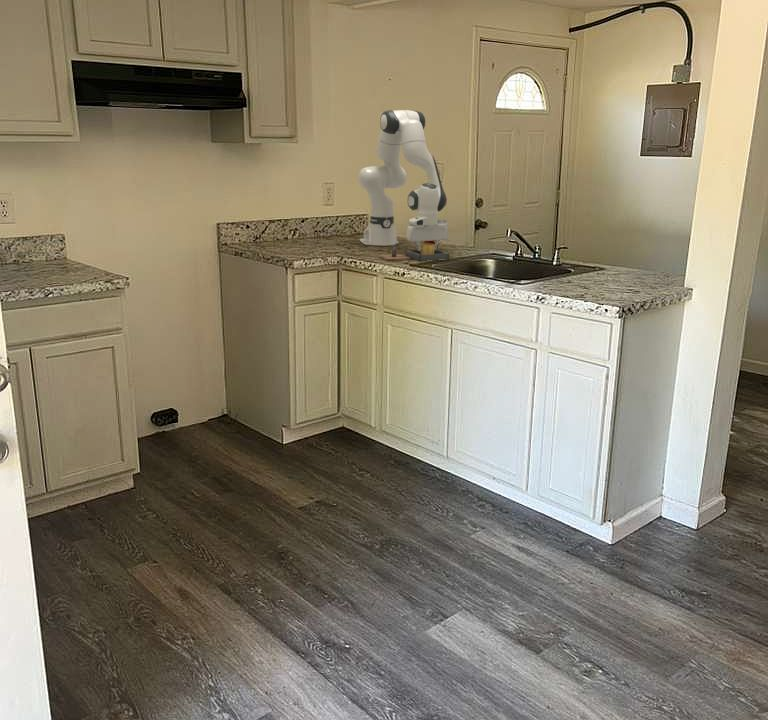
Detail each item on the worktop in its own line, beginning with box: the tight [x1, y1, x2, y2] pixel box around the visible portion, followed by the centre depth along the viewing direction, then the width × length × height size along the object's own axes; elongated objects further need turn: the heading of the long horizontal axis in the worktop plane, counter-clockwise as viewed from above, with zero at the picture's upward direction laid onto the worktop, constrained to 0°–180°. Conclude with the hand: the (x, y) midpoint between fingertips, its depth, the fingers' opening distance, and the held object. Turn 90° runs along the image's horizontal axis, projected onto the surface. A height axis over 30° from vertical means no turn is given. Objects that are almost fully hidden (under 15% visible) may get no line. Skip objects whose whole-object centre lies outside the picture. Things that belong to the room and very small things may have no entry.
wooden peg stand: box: [377, 244, 411, 262], centre depth 349 cm, size 11×11×6 cm
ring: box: [420, 243, 434, 255], centre depth 351 cm, size 6×6×4 cm
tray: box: [405, 249, 450, 262], centre depth 352 cm, size 15×15×3 cm
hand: (427, 250), depth 351 cm, fingers closed on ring, 6 cm apart
